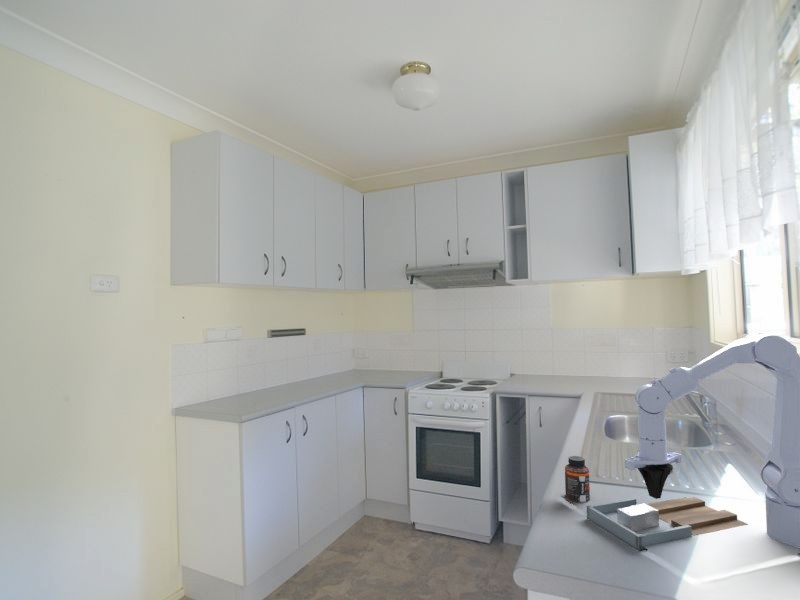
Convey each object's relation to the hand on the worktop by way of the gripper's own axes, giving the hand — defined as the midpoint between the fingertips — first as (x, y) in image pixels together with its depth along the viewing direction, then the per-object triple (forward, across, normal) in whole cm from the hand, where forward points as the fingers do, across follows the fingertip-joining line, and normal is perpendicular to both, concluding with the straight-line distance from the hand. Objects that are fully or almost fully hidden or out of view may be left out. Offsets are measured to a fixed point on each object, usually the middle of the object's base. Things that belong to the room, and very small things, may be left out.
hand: (654, 496), depth 106 cm
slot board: (+7, -10, 0) cm, 12 cm away
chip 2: (+6, +3, 0) cm, 7 cm away
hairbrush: (+7, -36, -37) cm, 52 cm away
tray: (+6, +6, 0) cm, 9 cm away
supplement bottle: (+7, +8, -17) cm, 20 cm away
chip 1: (+6, +7, 0) cm, 9 cm away
